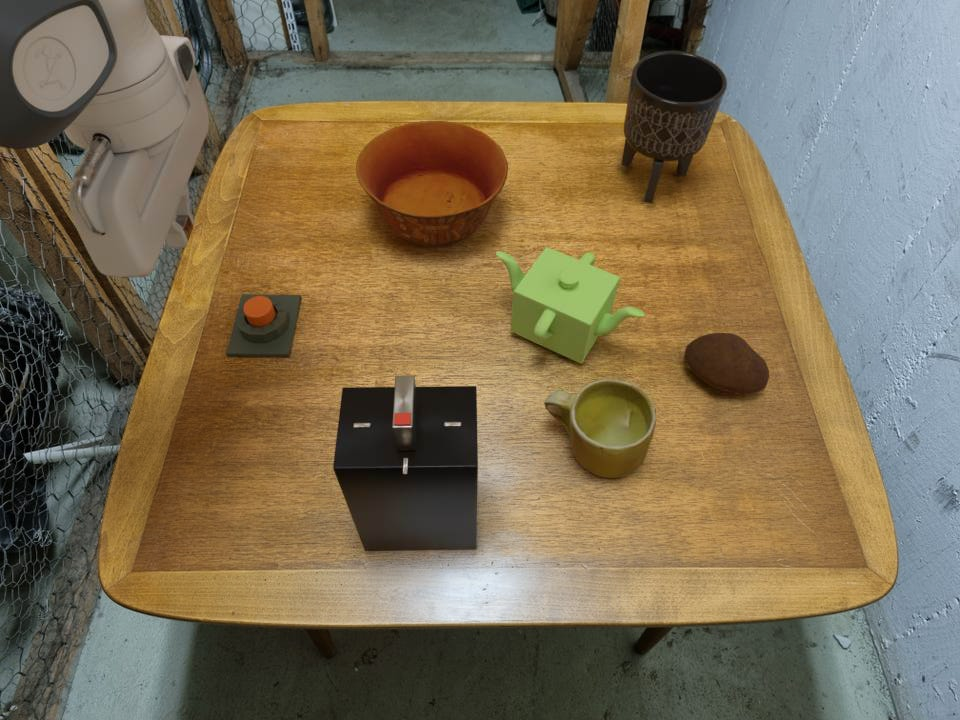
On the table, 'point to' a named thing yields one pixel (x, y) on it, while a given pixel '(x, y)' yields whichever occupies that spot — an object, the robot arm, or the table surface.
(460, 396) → the black lever box
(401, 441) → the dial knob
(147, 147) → the robot arm
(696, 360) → the potato
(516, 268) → the teapot
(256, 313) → the button
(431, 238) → the bowl
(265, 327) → the housing
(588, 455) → the mug
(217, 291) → the table surface
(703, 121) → the planter
